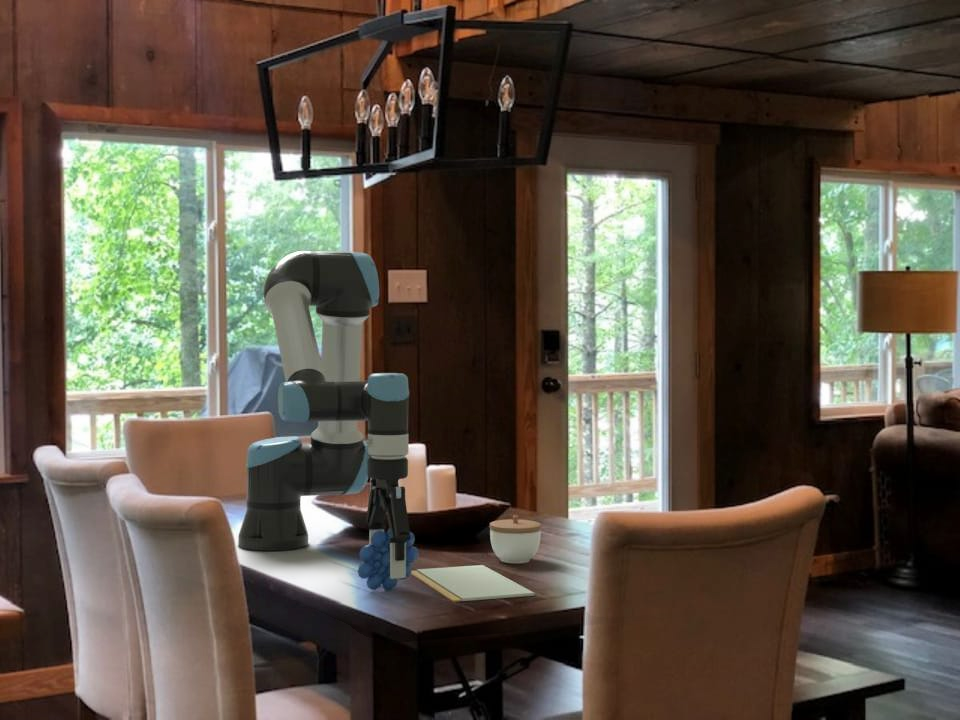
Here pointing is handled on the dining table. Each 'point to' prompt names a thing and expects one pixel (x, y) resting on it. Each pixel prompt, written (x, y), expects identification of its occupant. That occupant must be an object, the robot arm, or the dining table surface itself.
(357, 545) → the dining table surface
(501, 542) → the lidded jar
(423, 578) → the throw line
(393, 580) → the grapes
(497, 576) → the mat
